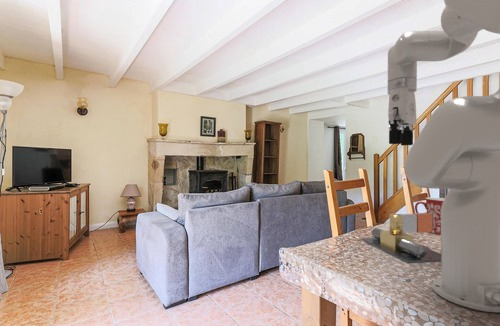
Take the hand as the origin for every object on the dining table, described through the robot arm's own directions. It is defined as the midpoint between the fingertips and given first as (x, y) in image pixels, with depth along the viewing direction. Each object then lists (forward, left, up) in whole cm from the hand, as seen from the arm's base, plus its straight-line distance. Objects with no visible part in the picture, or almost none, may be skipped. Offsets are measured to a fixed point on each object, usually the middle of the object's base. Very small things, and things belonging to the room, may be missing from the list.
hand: (401, 144), depth 78 cm
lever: (+5, -7, -28) cm, 29 cm away
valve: (+5, -4, -33) cm, 34 cm away
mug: (+22, -32, -33) cm, 51 cm away
